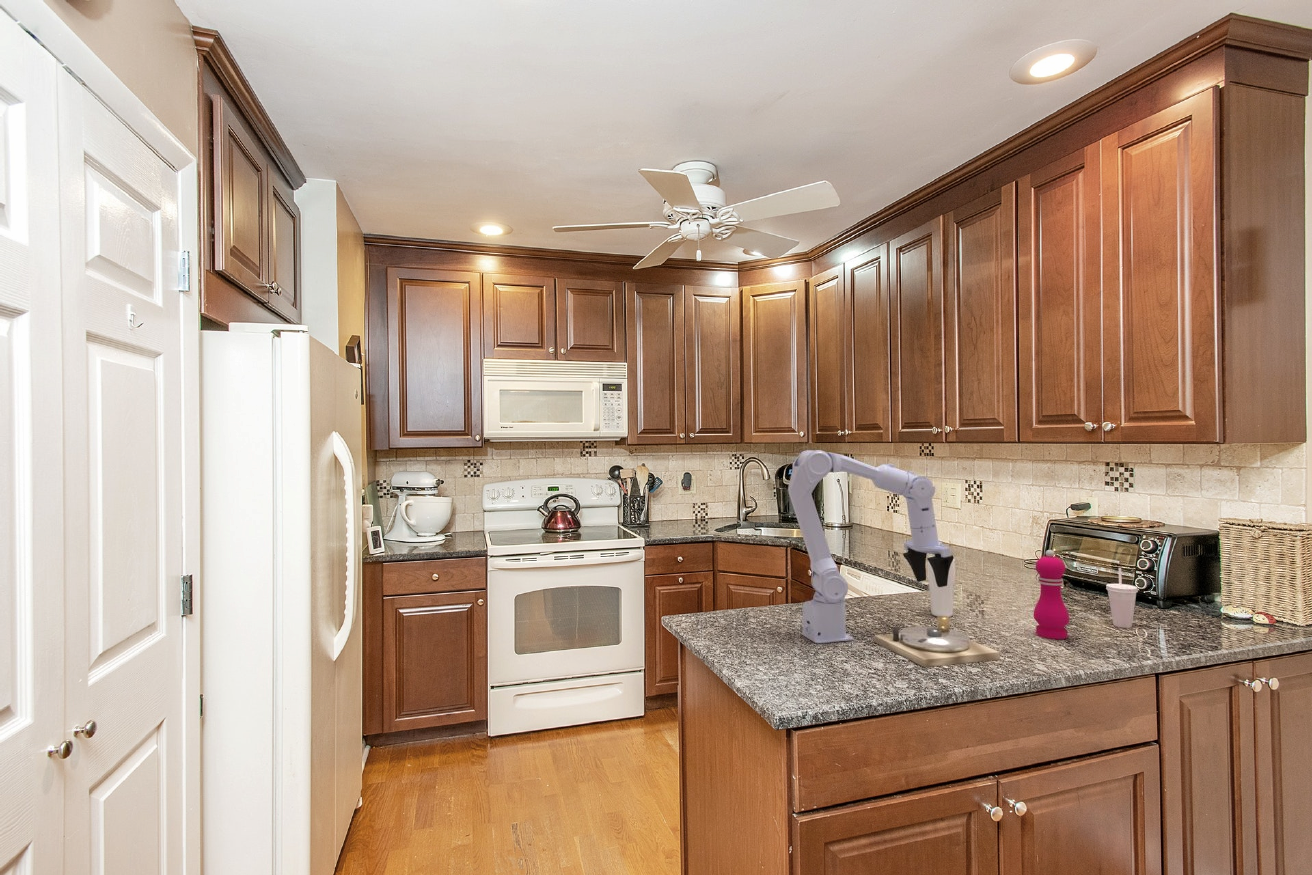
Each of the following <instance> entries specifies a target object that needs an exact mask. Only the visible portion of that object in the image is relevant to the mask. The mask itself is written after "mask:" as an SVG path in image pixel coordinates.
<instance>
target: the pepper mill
mask: <svg viewBox="0 0 1312 875" xmlns="http://www.w3.org/2000/svg"><path fill="white" fill-rule="evenodd" d="M1065 565H1066V564H1065V563H1064V562H1063V560H1061V558H1058V557H1057V556H1055V552H1054V550H1052V549H1048V550H1046V551H1045V556H1042V557H1040V558H1038V559H1037V560H1036V562H1035V571H1036V572H1037V573H1038V575H1039V576H1038V577H1037V578H1038V583H1039V584H1040V595H1039V598H1038V601H1037V603H1036V605H1035V607H1034V609H1033V618H1034V620H1035V621H1036V623H1037V625H1036V626H1035V634H1036V635H1038V637H1042V638H1045V639H1049V640H1051V639H1052V640H1064V639H1067V638H1068V629H1067V628H1065V627H1066V626H1067V625H1068V624H1069V623H1070V615H1069V614H1070V613H1069V611H1068V609H1067V606H1066V605H1065V603H1064V599H1063V597H1062V586H1063V585H1064V579H1063V575H1064V574H1065V573H1066V566H1065Z"/></svg>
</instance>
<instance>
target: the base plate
mask: <svg viewBox="0 0 1312 875" xmlns="http://www.w3.org/2000/svg"><path fill="white" fill-rule="evenodd" d="M899 628H900V627H898V626H893V627H892V633H885V634H876V635H874V643H876V644H878V645H880V646H882V647H884V648H886V649H887V650H889V651H892V652H894V653H896V654H898V655H900V656H901V657H904V658H905V659H907V660H910V661H912V662H914V663H915V664H917V665H919V666H921V667H923V668H930V667H939V666H940V667H941V666H948V665H949V666H951V665H958V664H968V663H978V662H987V661H994V660H995V661H996V660H997V661H998V660H1001V651H999V650H996V649H993V648H991V647H989V646H986V645H983V644H980V643H979V642H976V641H973V640H972V639H970V647H969V648H968V649H966V650H963V651H956V652H937V651H928V650H922V649H918V648H914V647H911V646H908V645H906V644H904V643H902V642H901V640H900V632H899V631H900V630H899Z"/></svg>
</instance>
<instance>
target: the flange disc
mask: <svg viewBox="0 0 1312 875" xmlns="http://www.w3.org/2000/svg"><path fill="white" fill-rule="evenodd" d="M950 626H951V625H950V617H948V616H937V626H926V625H925V626H924V625H923V626H909V627H905V628H902V629H901V630H899V631H900V632H899V633H900V640H901V642H902V643H904V644H906V645H908V646H911V647H914V648H918V649H922V650H928V651H937V652H956V651H963V650H966V649H968V648H969V647H970V640H971V639H970V636H969V635H968V634H966V633H964V632H962V631H958V630H955V629H951V628H950Z"/></svg>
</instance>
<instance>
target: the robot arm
mask: <svg viewBox="0 0 1312 875" xmlns="http://www.w3.org/2000/svg"><path fill="white" fill-rule="evenodd" d="M841 471H842V472H845V473H846V474H847V473H849V474H851V475H854V476H858V477H861V478H863V479H864V478H865V479H868V480H871V481H872V483H873V485H874V487H875V488H877V489H880V490H884V491H887V492H890V493H893V494H896V495H899V496H903V498H904V499H905V500H906V508H907V515H908V522H909V528H910V535H911V540H908V541H904V542H903V546H904V550H905V551H907V552H904V553H903V555H902V556H903V558H904V559H905V560H906V561H907V562H908V564H909V566H910V568H911V571H912V572H913V575H914V577H915V580H916V582H918V583H920V582H924V581H927V567H926V565H927V563H926V562H927V561H929V563H930V565H931V567H932V569H933V572H934V575H935V580H936V583H937V586H938V587H944V586H947V582H948V574H949V569H950V566H951V563H952V561H953V559H955V557H954V555H953V554H952V550H951V547H949V546H946V545H944V543H943V542H942V541H939V536H938V529H937V523H936V522H937V521H936V516H935V515H936V514H935V509H934V503H933V497H934V495H935V492H936V486H934V484H933V482H932V481H931V480H930V479H929V477H926V476H923V475H915V474H914V471H913V470H907V471H906V470H902V469H901V468H900V469H899V468H896V467H895V464H892V463H887V464H884V463H883V464H880V465H879V466H873V465H871V464H868V463H865V462H863V461H859V460H857V459H854V458H851V457H849V456H846V455H843V454H839V453H834V452H830V451H829V452H827V451H823V450H819V449H817V450H810V449H807V450H803V451H802V452H800V453H799V454H798V455H797V457H796V459H795V460H794V461H793V463H792V470H791V475H790V480H789V483H788V488H787V491H788V492H787V493H788V495H789V498H790V501H791V504H792V508H793V511H794V513H795V514H794V515H795V516H796V517H795V518H796V519H797V523H798V526H799V529H800V532H801V536H802V538H803V541H804V542H803V543H804V544H805V547H806V550H807V554H808V556H809V560H810V565H809V566H810V567H809V568H810V569H811V578H810V580H811V581H810V584H811V586H812V588H813V589H814V591H815V592H814V594H813V599H811V600H807V601H805V602H804V603H803V605H802V609H801V610H802V617H801V618H802V631H801V633H800V635H802V636H804V637H805V638H807V639H809V640H810V641H811V642H813V643H815V644H826V643H838V642H847V641H853V640H854V637H853V636H850V635H848V634H847V630H846V627H847V625H846V624H847V623H846V621H847V620H846V596H847V594H848V590H849V585H848V582H847V580H846V579H845V578H844V577H843V576H842V575H841V573H840V571H839V568H838V565H837V564H836V562H835V560H834V559H833V557H832V556H833V555H832V553H831V550H830V547H829V545H828V541H827V537H826V536H825V531H824V529H823V526H822V523H821V520H820V516H819V513H818V511H817V508H816V504H815V502H814V499H813V495H812V493H813V491H814V490H815V488H816V486H818V483H820V481H821V480H823V479H824V478H825V477H827V475H829V473H838V472H841ZM928 554H929V555H932V556H933V557H931V556H928V557H927V555H928Z"/></svg>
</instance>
